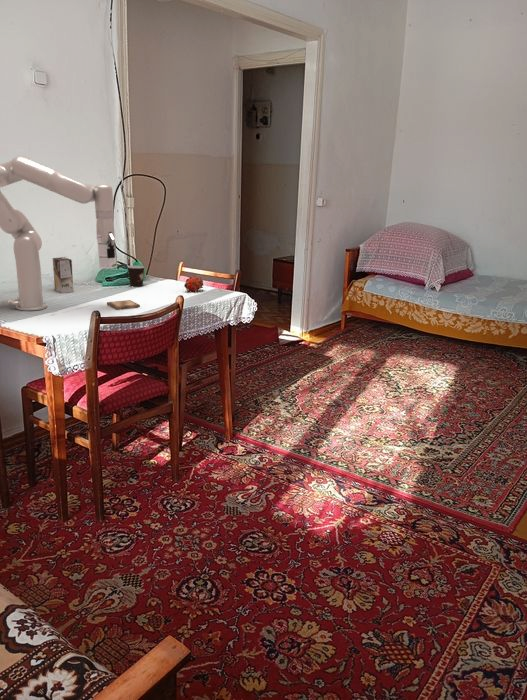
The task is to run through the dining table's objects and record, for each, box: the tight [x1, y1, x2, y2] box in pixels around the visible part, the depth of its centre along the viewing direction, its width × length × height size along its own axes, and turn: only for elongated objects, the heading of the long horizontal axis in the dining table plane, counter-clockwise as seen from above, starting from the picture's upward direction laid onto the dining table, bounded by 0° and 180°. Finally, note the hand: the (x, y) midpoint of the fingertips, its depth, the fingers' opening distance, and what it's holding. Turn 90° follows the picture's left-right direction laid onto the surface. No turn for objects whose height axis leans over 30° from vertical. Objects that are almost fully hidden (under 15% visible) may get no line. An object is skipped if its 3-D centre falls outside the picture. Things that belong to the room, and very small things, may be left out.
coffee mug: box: [125, 265, 145, 288], centre depth 300 cm, size 12×9×10 cm
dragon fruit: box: [183, 275, 204, 292], centre depth 295 cm, size 8×8×12 cm
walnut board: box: [106, 299, 141, 311], centre depth 257 cm, size 11×11×1 cm
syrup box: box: [96, 234, 118, 270], centre depth 247 cm, size 6×6×14 cm
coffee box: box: [52, 256, 74, 294], centre depth 281 cm, size 9×6×16 cm
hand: (107, 256), depth 248 cm, fingers closed on syrup box, 7 cm apart
